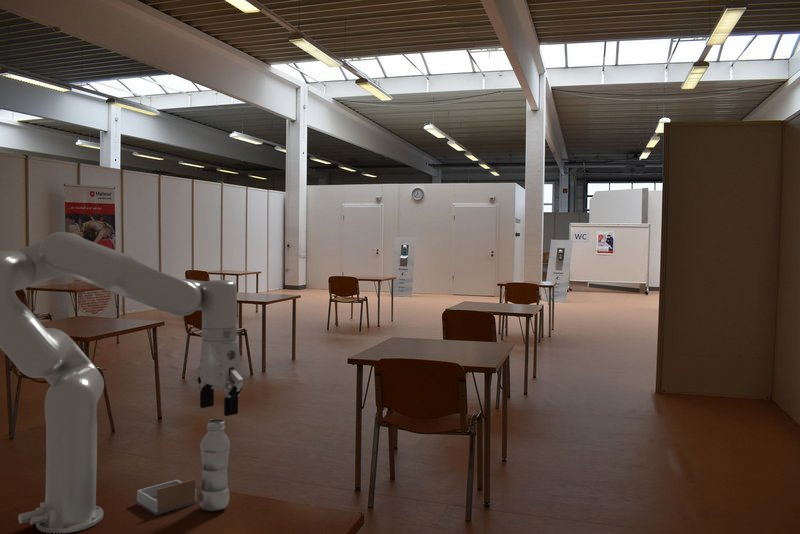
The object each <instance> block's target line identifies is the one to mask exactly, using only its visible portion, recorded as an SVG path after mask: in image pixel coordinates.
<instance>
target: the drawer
mask: <svg viewBox="0 0 800 534" xmlns="http://www.w3.org/2000/svg"><path fill="white" fill-rule="evenodd" d="M197 490H198V489H197V488H196V479H195V478H193V479H188V480H185V481H181V480H179V479H174V480H171V481H167V482H162V483H160V484H155V485H152V486H148V487H145V488H141V489H137V491H136V505H137V506H140V507H141V508H143V509H144V510H146V511H148V512H149V513H151V514H153V515H155V516H158V515H161V514H165V513H168V512H171V511H175V510H179V509H181V508H185V507H188V506H191V505H194V504H197V496H198V495H197V492H198V491H197Z"/></svg>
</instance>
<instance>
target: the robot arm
mask: <svg viewBox="0 0 800 534" xmlns="http://www.w3.org/2000/svg"><path fill="white" fill-rule="evenodd" d="M61 276H66V277H70V278H72V279H75V280H79V281H81V282H84V283H87V284H90V285H91V286H95V287H97V288H101V289H104V290H106V291H108V292H111V293H114V294H116V295H119V296H121V297H125V298H128V299H130V300H132V301H134V302H138V303H140V304H143V305H145V306H148V307H151V308H153V309H157V310H159V311H162V312H165V313H166V314H167V313H168V314H171V315H173V316H177V317H178V316H179V317H185V316H189V315H192V314H193V313H195V312H196V311H201V348H200V360H199V361H200V362H199V367H197V368H196V375H197V382H198V384H199V385H198V389H199V392H200V393H199V401H200V402H199V406H200V408H201V409H206V408H209V407H210V408H211V407H214V403H215V391H214V390H215V389H214V388H213V387H215V388H216V387H217V388H220V389H222V390H223V392H224V394H225V397H224V400H223V407H224V408H223V410H224V411H223V415H224V416H225V417H229V416H234V415H238V413H239V397H240V394H241V392H242V387H243V384H244V378H243V376H242V375H241V374H242V372H241V371H242V369H241V368H242V367H241V358H240V357H241V356H240V355H241V354H240V347H239V344H238V341H237V336H238V335H237V332H238V330H237V327H238V326H237V323H238V321H237V320H238V319H237V318H238V317H237V316H238V307H237V306H238V302H237V301H238V288H237V284H236V282H234V281H232V280H223V279H221V280H219V279H217V280H213V279H211V280H207V281H205V280H195V279H188V278H182V279H181V278H179V277H176V276H173V275H170V274H168V273H164V272H162V271H160V270H156V269H154V268H151V266H147V265H145V264H144V263H142V262H140V261H138V259H136V258H134V257H133V256H131V255H129V254H126V253H123V252H121V251H118V250H115V249H113V248H110V247H107V246H104V245H103V244H99V243H96V242H94V241H92V240H89V239H87V238H84V237H82V236H81V235H79V234H77V233H74V232H68V231H67V232H65V231H57V232H53V233H51V234H49V235H48V236H45V238H44V239H43V240H42V241H40V242H37V243H35V244H31V245H28V246H24V247H21V248H18V249H14V250H10V251H8V250H5V251H3V250H1V251H0V349H1V350H2V352H3V353H4V354H5V355H6V356H7V357H8V359H9V360H11V362H12V363H13V364H14V365H15V366H16V368H17V369H18V370H19V371H20V372H21V373H22V374H23V375H25V376H26V377H28V378H31V379H32V378H33V379H41V378H43V379H45V381H46V382H47V383H48V385H50V386H49V388H48V389H47V392H46V395H45V398H44V416H45V429H46V430H45V431H46V432H45V433H46V434H45V435H46V436H45V438H46V440H45V453H46V459H45V460H46V461H45V498H44V499H45V501H41V502H40V503H39V507H37V508H35V510H32V511H26V512H22V513H19V514H18V516H17V517H18V518H17V519H18V523H19V524H21V525H22V524H25V523H29V524H30V525H34V524H35V528H36V529H37V530H38V531H40V532H42V533H45V532H46V533H45V534H51V533H53V534H55V533H56V534H58V533H59V534H61V533H62V534H70V533H74V532H80V531H83V530H86V529H89V528H92V527H93V526H96V525H97V524H98V523H100V522H101V521H102V520H103V518H104V509H102V507H100V506H99V505H96V503H97V465H98V463H97V461H98V460H97V458H98V453H97V452H98V419H97V414H98V413H97V410H98V409H97V407H98V402H99V401H100V398H101V396H102V395H103V393H104V389H105V381H104V377H103V376H102V374H101V372H100V371H99V369H98V368H97V367H96V365H95V364H94V363H93V362H92V361H91V360H90V359H89V357H88V356H87V355H86V354H85V353H84V352H83V350H82V348H80V347H79V346H78V345H77V343H75V341H74V339H73V338H72V337H70V336H69V335H68V333H66V332H64V331H63V330H61V329H58V328H54V327H45V326H44V325H43V324H42V322H41V321H39V320H38V318H37V317H36V316H35V314H34V313H33V312H32V311H31V310H30V308H28V306H27V305H26V304H24V302H22V301H21V300H20V298H19V297H18V296H17V294H16V291H21V290H24V289H27V288H29V287H32V286H36V285H38V284H41V283H44V282H47V281H49V280H53V279H56V278H59V277H61ZM230 388H231V389H230Z"/></svg>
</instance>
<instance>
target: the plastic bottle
mask: <svg viewBox="0 0 800 534" xmlns="http://www.w3.org/2000/svg"><path fill="white" fill-rule="evenodd" d="M225 422H226V421H225V419H222V418H211V419H208V420H207V425H206V430H207V431H206V433H205V435H204V436H203V438H202V439H201V441H200V445H199V446H200V447H199V448H200V449H199V450H200V456H201V465H202V467H201V468H202V476H201V486H200V490H199V494H198V501H199V506H200V507H201V509H202V510H203V511H207V512H216V511H217V512H218V511H220V510H223V509H225V508H226V507H227V506H228V505H229V502H230V498H231V497H230V489H229V487H228V486H229V485H228V481H229V480H228V465H229V464H228V462H229V455H230V448H231V441H230V438H229V437H228V435H227V434H226V433H225V431H224V430H225V429H226V425H225V424H226V423H225Z"/></svg>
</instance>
